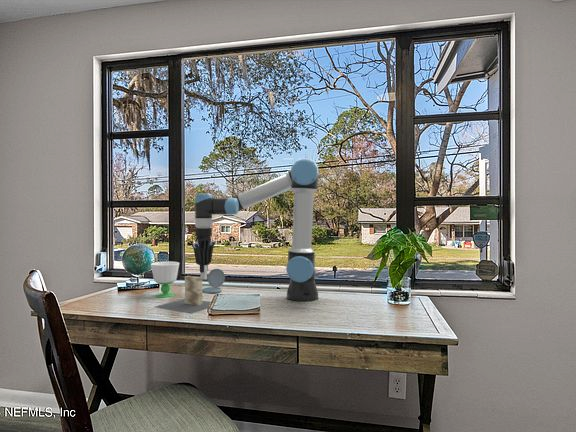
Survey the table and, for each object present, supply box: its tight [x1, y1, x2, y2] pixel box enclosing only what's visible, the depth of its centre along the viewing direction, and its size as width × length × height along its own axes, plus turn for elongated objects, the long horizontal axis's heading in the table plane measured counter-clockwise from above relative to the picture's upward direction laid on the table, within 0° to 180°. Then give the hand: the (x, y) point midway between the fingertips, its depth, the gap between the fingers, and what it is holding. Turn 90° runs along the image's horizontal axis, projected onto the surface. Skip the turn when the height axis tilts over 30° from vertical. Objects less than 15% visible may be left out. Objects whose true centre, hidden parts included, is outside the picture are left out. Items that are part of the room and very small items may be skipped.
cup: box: [150, 261, 180, 298], centre depth 212 cm, size 14×14×16 cm
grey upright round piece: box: [202, 268, 226, 295], centre depth 221 cm, size 10×11×15 cm
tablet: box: [184, 275, 203, 306], centre depth 192 cm, size 8×3×12 cm, turn 59°
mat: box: [154, 298, 212, 315], centre depth 190 cm, size 22×20×1 cm
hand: (203, 279), depth 198 cm, fingers closed
